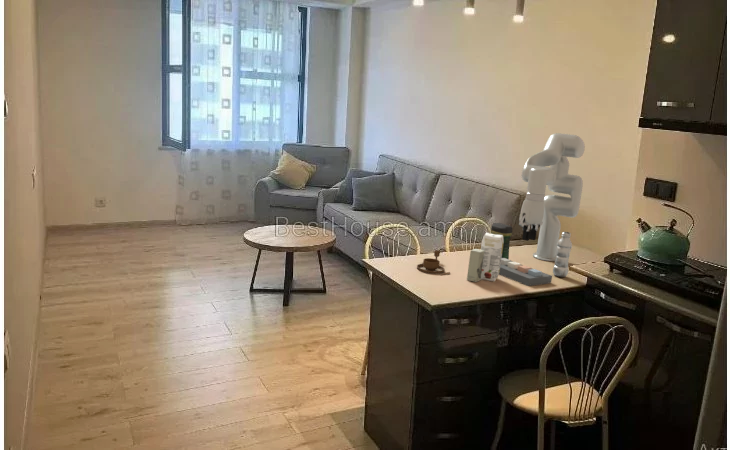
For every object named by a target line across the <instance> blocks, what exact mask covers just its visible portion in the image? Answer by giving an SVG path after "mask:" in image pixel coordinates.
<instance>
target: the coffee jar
mask: <svg viewBox="0 0 730 450" xmlns="http://www.w3.org/2000/svg"><path fill="white" fill-rule="evenodd" d="M490 233H491V234H494V235H503V240H504V243H503V251H502V258H506V259H509V260H510V242H511V237H512V235H513V226H511V225H509V224H505V223H501V222H493V223H492V224H491V228H490Z"/></svg>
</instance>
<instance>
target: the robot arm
mask: <svg viewBox="0 0 730 450" xmlns="http://www.w3.org/2000/svg"><path fill="white" fill-rule="evenodd" d="M585 147H586V146H585V142H584V140H583V139H582V138H581V137H580V136H579V135H576V134H570V133H569V134H568V133H559V132H558V133H557V132H555V133H552V134H550V136H549V137H548V139H547V140H546V143H545V145H544V147H543V149H542V151H539V152H537V153H535V154H533V155H531V156H529V157H528V158H527V160H526V161H525V164H524V166H523V168H522V170H521V178H522V180H523V181H524V182H526V183H527V187H526V192H525V193H526V194H525V199H524V200H523V202H522V205H521V209H520V214H519V223H518V226H519V227H521V228H522V229H521V230H522V231H523V232H522V238H521V239H522V240H523V241H529V240H532V241H536V237H537V232H538V239H537V244H536V245H537V247H536V252H533V253H532V257H533V258H535V259H538V260H541V261H546V262H547V261H548V262H555V261H556V256H557V242H558V241H559V239H560V233H561V227H562V225H561V221H560V219H559V216H560V217H566V218H575V217H577V216H578V214H579V212H580V205H581V199H582V193H583V178H582V177H581V176H579V175H575V174H570V173H569V170H570V162H569V160H568V158H575V159H580V158H581V157H582V156H583V155H584V153H585ZM549 166H550V167H549ZM547 187H548V190H549V191H550V192H553V193H557V194H564V195H569V196H570V197H568V196H564V195H557V194H547V195H545V194H546V190H547V189H546V188H547ZM530 227H531V228H530Z"/></svg>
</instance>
